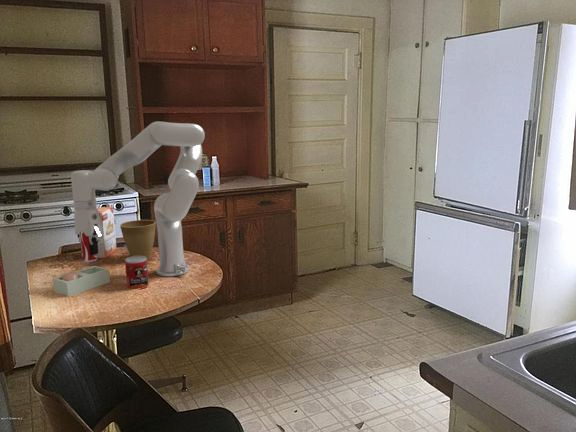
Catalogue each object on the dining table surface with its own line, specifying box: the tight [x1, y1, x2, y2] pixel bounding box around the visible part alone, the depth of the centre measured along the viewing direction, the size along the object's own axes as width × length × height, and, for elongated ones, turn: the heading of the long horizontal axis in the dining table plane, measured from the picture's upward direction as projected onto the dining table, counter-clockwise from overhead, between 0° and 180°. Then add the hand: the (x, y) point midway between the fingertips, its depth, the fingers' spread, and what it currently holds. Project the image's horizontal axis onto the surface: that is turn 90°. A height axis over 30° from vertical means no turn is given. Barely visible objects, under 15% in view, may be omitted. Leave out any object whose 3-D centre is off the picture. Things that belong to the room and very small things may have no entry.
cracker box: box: [97, 206, 117, 259], centre depth 225 cm, size 14×6×21 cm, turn 179°
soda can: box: [79, 230, 98, 263], centre depth 184 cm, size 5×5×12 cm
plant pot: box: [119, 219, 157, 260], centre depth 218 cm, size 15×15×16 cm
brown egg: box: [61, 271, 78, 281], centre depth 179 cm, size 5×5×6 cm
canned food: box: [124, 255, 150, 291], centre depth 183 cm, size 8×8×11 cm
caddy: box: [52, 265, 111, 297], centre depth 183 cm, size 8×17×6 cm, turn 146°
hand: (89, 252), depth 184 cm, fingers closed on soda can, 4 cm apart
